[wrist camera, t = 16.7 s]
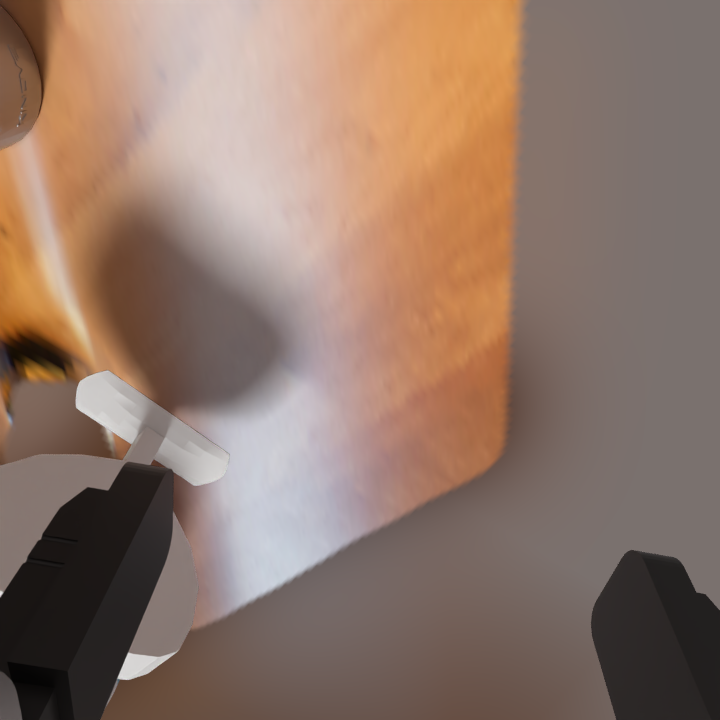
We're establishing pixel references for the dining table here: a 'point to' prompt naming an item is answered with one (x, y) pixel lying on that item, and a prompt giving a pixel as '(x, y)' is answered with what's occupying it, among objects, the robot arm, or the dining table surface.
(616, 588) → the robot arm
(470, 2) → the dining table surface
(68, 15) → the dining table surface
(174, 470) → the heart sculpture
